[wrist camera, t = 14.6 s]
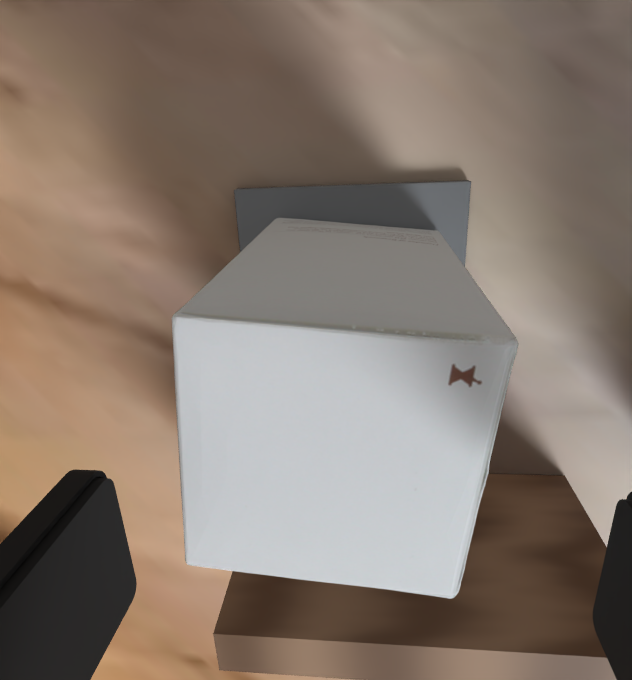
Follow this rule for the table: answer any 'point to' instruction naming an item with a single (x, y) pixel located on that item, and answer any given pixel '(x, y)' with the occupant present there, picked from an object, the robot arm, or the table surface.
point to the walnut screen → (442, 606)
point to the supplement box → (339, 407)
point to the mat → (361, 207)
